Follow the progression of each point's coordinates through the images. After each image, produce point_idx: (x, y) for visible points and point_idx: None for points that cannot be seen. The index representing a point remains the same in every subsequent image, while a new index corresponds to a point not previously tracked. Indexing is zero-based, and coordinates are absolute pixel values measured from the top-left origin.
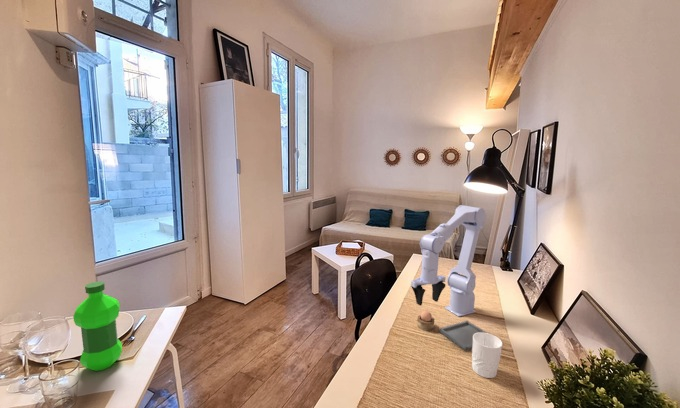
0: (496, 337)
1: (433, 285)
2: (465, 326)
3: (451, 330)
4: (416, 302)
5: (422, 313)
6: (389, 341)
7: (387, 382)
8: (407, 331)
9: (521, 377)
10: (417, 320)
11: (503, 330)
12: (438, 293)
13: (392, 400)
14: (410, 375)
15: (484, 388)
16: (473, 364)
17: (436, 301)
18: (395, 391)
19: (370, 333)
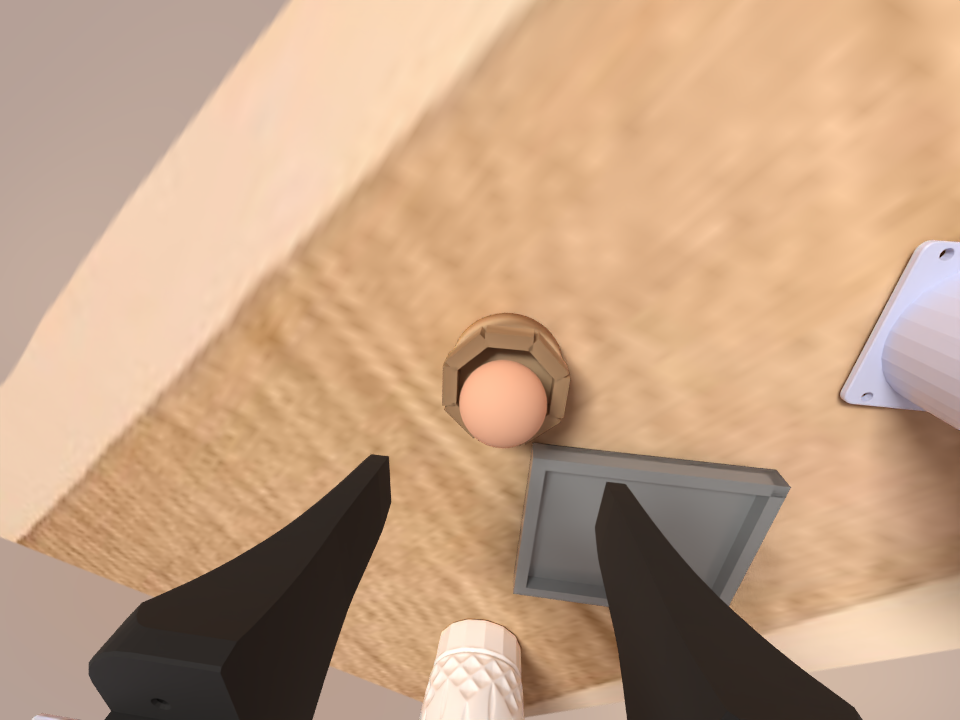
0: None
1: (674, 677)
2: (722, 493)
3: (602, 478)
4: (363, 461)
5: (466, 407)
6: (208, 374)
7: (121, 534)
8: (357, 352)
9: (560, 698)
10: (448, 355)
11: (872, 588)
12: (618, 652)
13: (118, 578)
14: (212, 550)
15: (409, 666)
16: (438, 654)
17: (595, 532)
18: (136, 565)
19: (117, 259)
